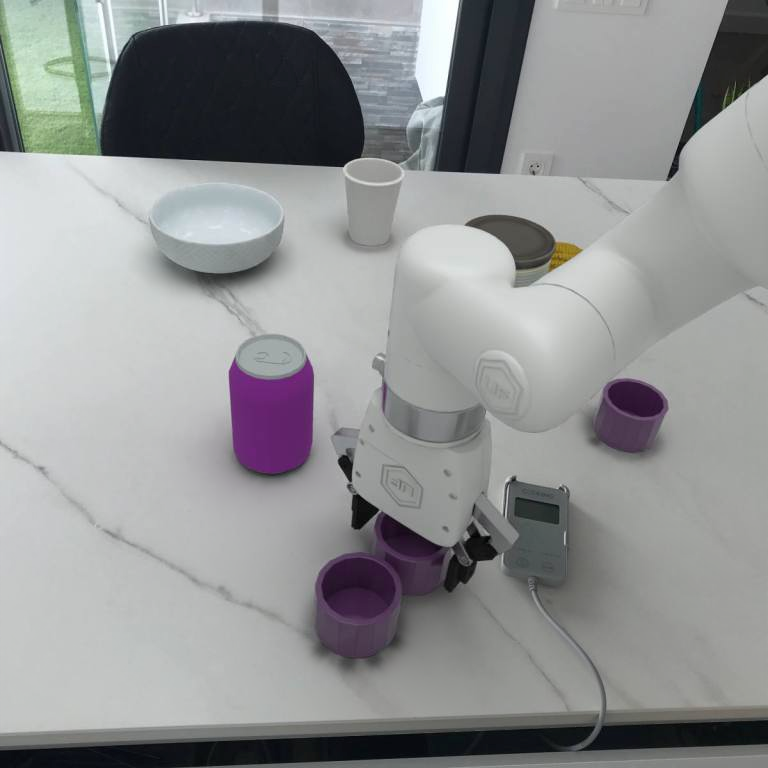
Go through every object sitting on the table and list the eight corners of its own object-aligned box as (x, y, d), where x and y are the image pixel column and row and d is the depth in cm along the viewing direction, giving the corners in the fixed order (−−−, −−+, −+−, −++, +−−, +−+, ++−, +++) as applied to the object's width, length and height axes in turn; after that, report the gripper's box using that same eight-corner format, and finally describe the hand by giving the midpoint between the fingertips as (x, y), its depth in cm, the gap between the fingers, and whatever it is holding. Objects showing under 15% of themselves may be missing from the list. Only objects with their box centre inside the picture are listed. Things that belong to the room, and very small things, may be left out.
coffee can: (440, 358, 90) (457, 251, 81) (450, 310, 98) (466, 208, 89) (529, 373, 89) (556, 267, 80) (532, 323, 97) (556, 221, 88)
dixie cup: (365, 256, 106) (370, 189, 100) (328, 231, 111) (330, 165, 104) (410, 240, 111) (417, 174, 104) (372, 217, 115) (377, 152, 109)
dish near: (404, 652, 60) (410, 619, 57) (319, 663, 59) (321, 630, 56) (388, 582, 65) (392, 548, 62) (309, 591, 64) (310, 557, 61)
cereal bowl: (197, 308, 94) (193, 257, 89) (131, 250, 103) (124, 201, 98) (309, 266, 103) (310, 218, 99) (239, 217, 112) (237, 171, 108)
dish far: (666, 449, 81) (679, 417, 78) (607, 454, 79) (619, 422, 76) (638, 407, 86) (650, 376, 83) (583, 412, 84) (593, 380, 81)
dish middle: (455, 590, 65) (463, 557, 62) (378, 599, 64) (382, 565, 61) (437, 529, 70) (443, 496, 67) (365, 537, 69) (368, 503, 66)
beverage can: (228, 478, 73) (221, 379, 65) (238, 422, 79) (232, 326, 71) (310, 481, 73) (312, 383, 66) (314, 426, 79) (316, 330, 72)
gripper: (307, 369, 56) (303, 522, 67) (513, 486, 49) (471, 637, 60) (371, 325, 61) (357, 475, 72) (567, 426, 54) (519, 576, 65)
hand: (409, 548), depth 66 cm, fingers open, 9 cm apart
